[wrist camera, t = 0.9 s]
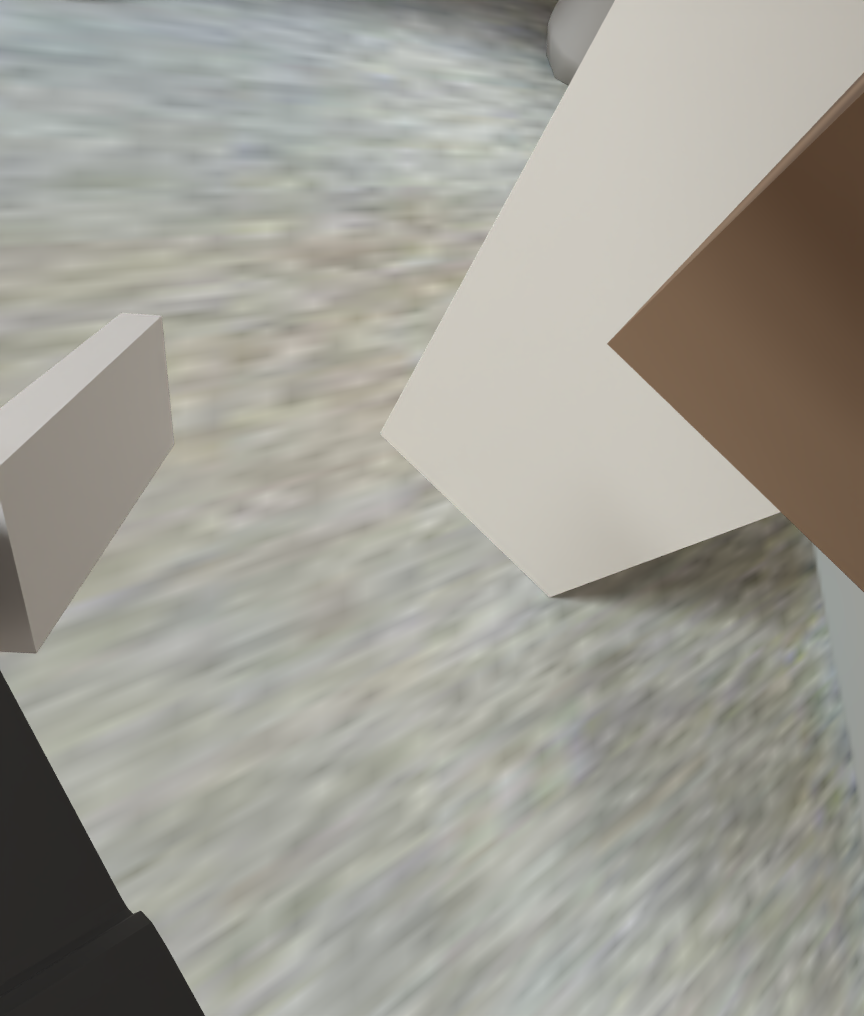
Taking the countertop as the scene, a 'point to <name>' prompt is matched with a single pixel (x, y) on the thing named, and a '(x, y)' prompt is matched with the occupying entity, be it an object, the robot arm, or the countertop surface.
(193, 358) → the countertop surface
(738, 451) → the panel with wooden post
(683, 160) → the pedestal
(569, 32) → the salt shaker
